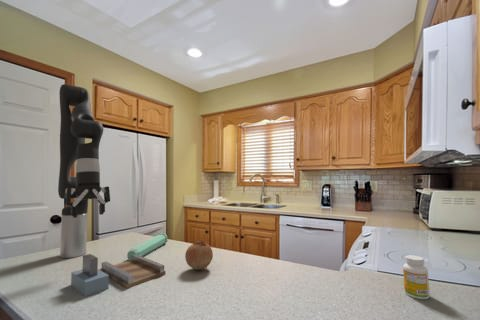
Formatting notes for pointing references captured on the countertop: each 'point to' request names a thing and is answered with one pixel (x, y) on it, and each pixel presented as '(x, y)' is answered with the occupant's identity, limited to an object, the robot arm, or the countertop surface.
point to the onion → (199, 255)
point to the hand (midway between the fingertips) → (88, 216)
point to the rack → (133, 271)
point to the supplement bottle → (416, 278)
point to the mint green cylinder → (148, 245)
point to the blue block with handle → (89, 277)
